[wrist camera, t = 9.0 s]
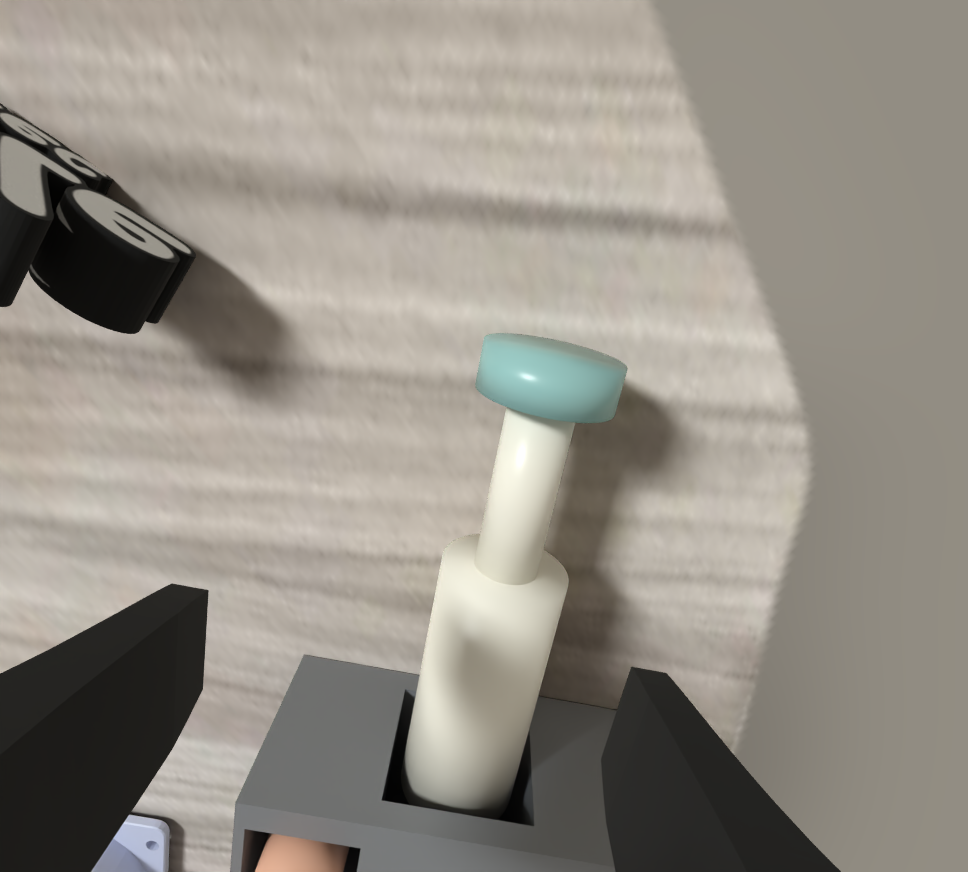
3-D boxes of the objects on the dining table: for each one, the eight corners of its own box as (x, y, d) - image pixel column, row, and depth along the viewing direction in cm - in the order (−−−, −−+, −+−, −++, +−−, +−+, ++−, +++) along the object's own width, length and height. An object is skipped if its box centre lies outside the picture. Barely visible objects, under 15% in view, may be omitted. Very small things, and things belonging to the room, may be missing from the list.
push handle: (510, 744, 22) (511, 841, 18) (409, 726, 22) (391, 820, 18) (613, 351, 17) (641, 383, 14) (486, 326, 17) (481, 352, 14)
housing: (578, 866, 25) (599, 1052, 20) (285, 816, 25) (220, 992, 19) (630, 712, 23) (671, 876, 17) (304, 654, 22) (235, 802, 17)
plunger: (351, 849, 20) (323, 962, 17) (276, 837, 20) (234, 948, 17) (360, 793, 19) (333, 902, 16) (282, 780, 19) (240, 887, 16)
